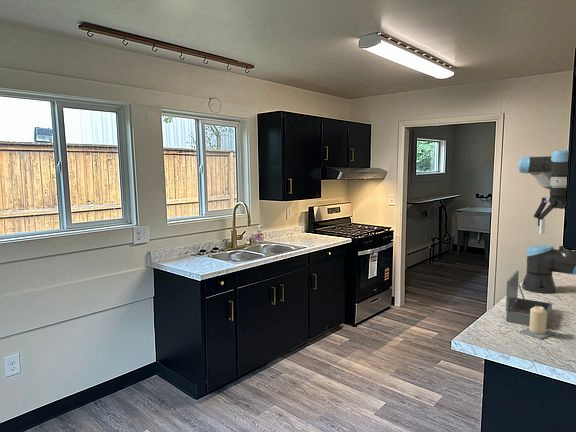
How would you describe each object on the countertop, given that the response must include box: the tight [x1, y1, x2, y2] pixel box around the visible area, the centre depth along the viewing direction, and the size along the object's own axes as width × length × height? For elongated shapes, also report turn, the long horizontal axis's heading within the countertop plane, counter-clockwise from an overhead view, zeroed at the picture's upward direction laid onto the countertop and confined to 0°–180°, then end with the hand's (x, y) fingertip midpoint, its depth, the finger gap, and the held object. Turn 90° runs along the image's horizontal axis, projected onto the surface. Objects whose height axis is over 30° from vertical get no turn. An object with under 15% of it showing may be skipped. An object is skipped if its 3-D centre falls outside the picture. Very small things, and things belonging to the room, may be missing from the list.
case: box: [505, 270, 553, 327], centre depth 173 cm, size 23×14×18 cm, turn 141°
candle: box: [528, 306, 547, 334], centre depth 157 cm, size 6×6×10 cm
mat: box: [519, 327, 556, 340], centre depth 157 cm, size 10×8×1 cm
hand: (557, 235), depth 174 cm, fingers open, 13 cm apart
